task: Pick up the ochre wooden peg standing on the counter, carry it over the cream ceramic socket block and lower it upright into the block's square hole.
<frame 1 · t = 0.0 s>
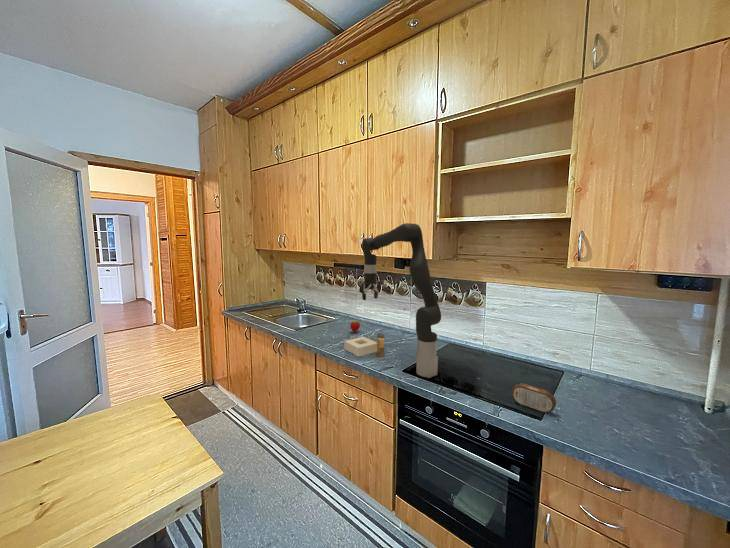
hand: (370, 299, 179), 29 cm above the table, fingers open, 8 cm apart
strawberry: (355, 333, 209), on the table
peg: (380, 355, 168), on the table
socket block: (361, 350, 176), on the table
brown rounded slab: (532, 408, 118), on the table
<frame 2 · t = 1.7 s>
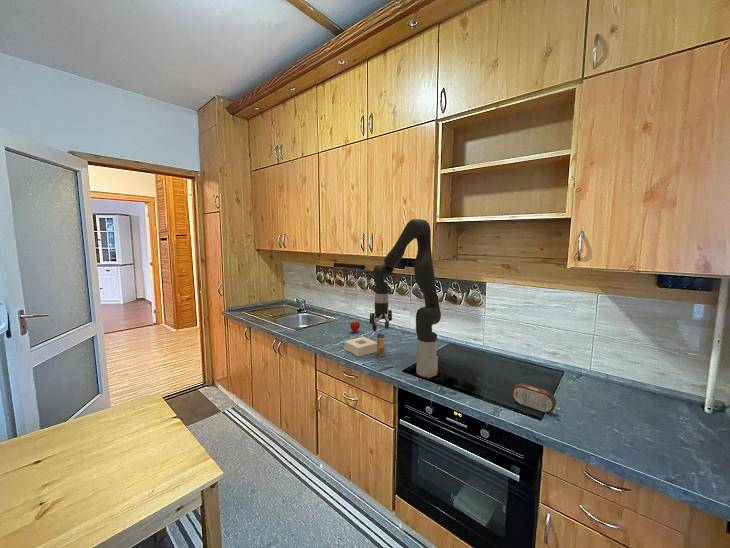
hand: (380, 329, 167), 15 cm above the table, fingers open, 8 cm apart
nothing on the table moved.
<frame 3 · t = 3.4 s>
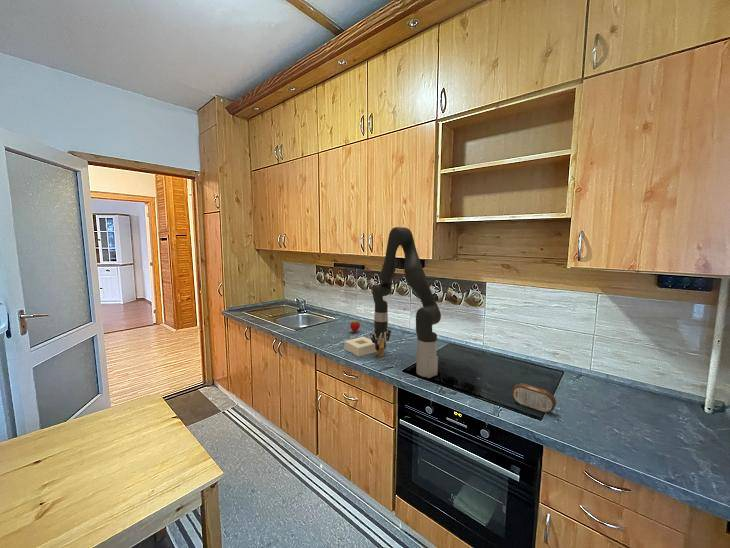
hand: (380, 349, 168), 4 cm above the table, fingers closed on peg, 4 cm apart
peg: (380, 355, 168), on the table, touching gripper
everything else where it was.
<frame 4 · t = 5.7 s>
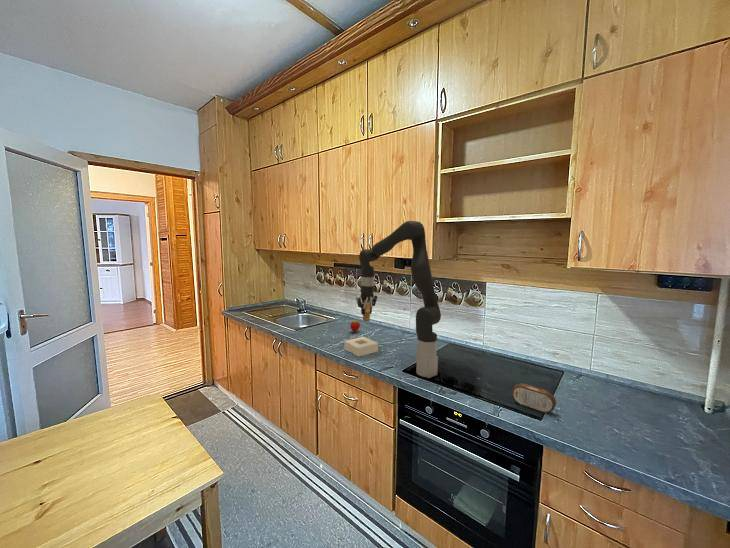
hand: (366, 313, 172), 22 cm above the table, fingers closed on peg, 4 cm apart
peg: (366, 320, 172), point 19 cm above the table, touching gripper
everything else where it was.
when the fingers open (7 cm above the table, at t = 8.4 s): peg drops 3 cm, resting in socket block.
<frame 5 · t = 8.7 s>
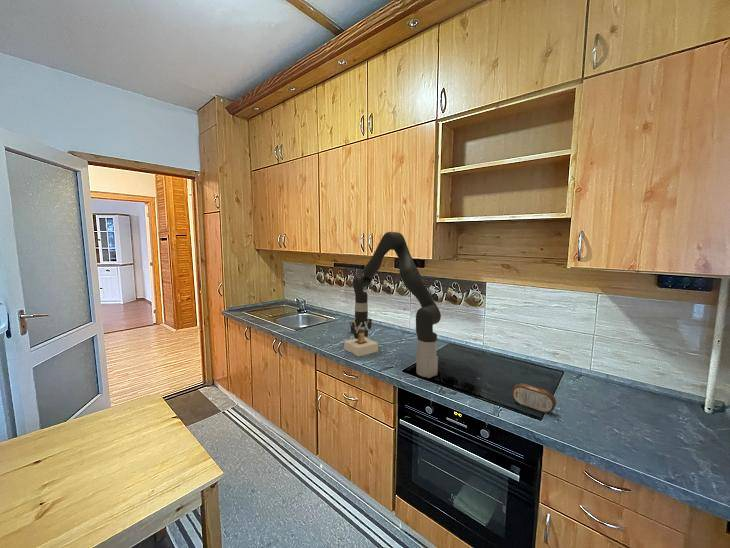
hand: (361, 337, 176), 8 cm above the table, fingers open, 6 cm apart
peg: (361, 350, 176), resting in socket block
everything else where it was.
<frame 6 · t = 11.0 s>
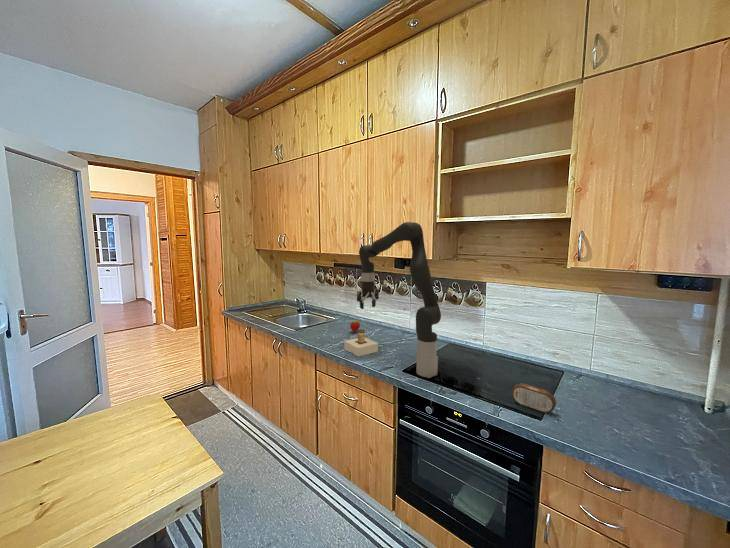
hand: (367, 307, 174), 25 cm above the table, fingers open, 8 cm apart
nothing on the table moved.
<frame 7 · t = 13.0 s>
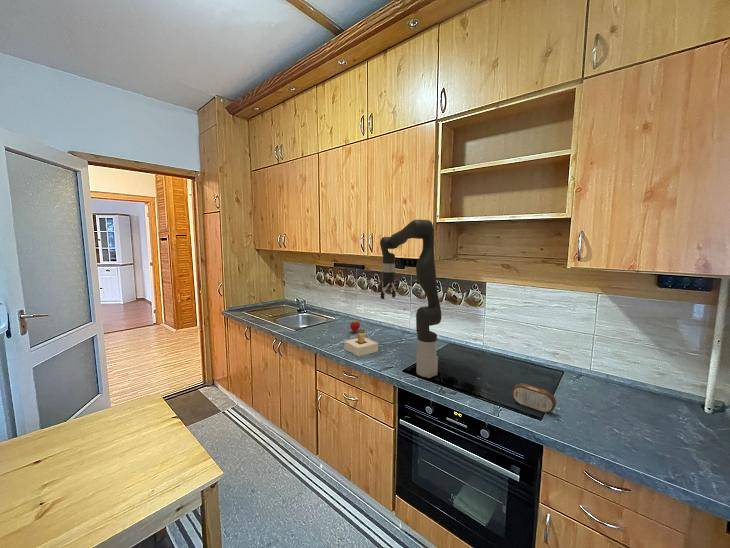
hand: (388, 298, 178), 30 cm above the table, fingers open, 8 cm apart
nothing on the table moved.
at the end: peg 0.1 cm off-centre on the socket block, point 0.0 cm above the socket block's base; peg tilted 0°; the gripper is holding nothing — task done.
